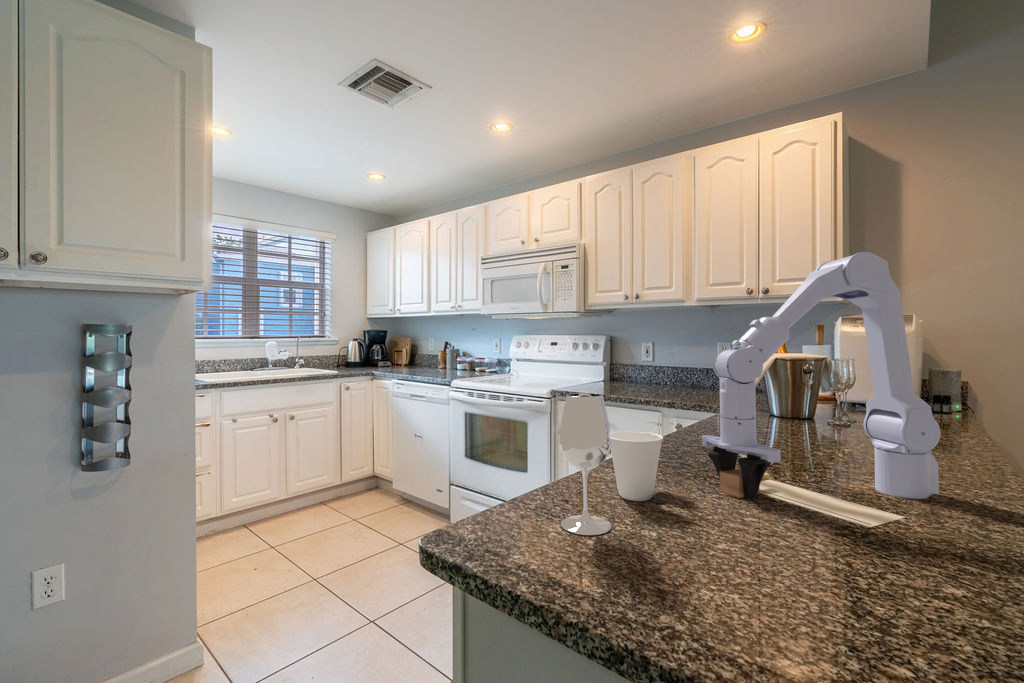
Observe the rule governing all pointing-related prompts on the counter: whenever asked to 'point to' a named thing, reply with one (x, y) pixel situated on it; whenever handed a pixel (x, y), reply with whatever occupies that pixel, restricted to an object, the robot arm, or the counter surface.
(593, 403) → the wineglass
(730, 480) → the block
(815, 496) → the board
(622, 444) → the cup
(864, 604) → the counter surface
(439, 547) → the counter surface
